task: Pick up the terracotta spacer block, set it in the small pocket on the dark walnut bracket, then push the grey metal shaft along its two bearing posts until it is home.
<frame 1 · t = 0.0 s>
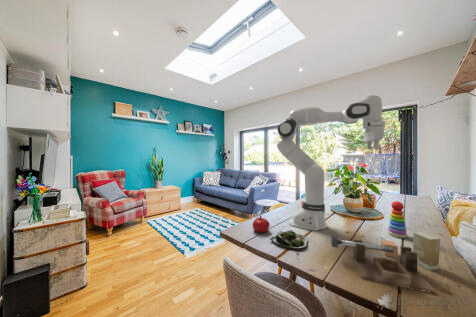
hand: (372, 149, 100), 48 cm above the table, tool pointing down, fingers open, 8 cm apart
bearing bracket: (387, 272, 66), on the table
skincare box: (425, 265, 70), on the table
pomegranate: (261, 231, 104), on the table
stacking toy: (397, 235, 96), on the table
salad plate: (289, 242, 91), on the table
shaft: (360, 245, 73), point 7 cm above the table, slide at -6.0 cm
spacer block: (389, 254, 79), on the table
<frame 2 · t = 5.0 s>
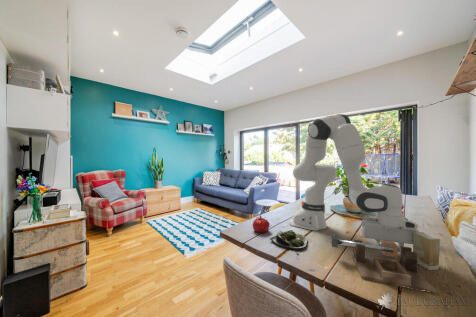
hand: (389, 250, 78), 2 cm above the table, tool pointing down, fingers closed on spacer block, 4 cm apart
spacer block: (389, 253, 79), on the table, touching gripper
everything else where it was.
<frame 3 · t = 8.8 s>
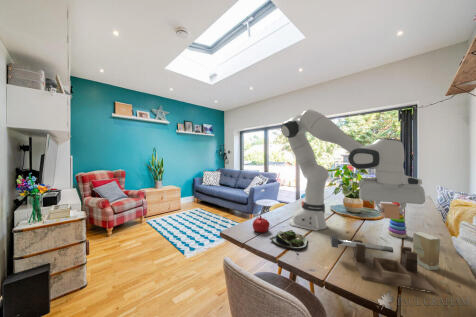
hand: (389, 212, 70), 21 cm above the table, tool pointing down, fingers closed on spacer block, 4 cm apart
spacer block: (389, 216, 70), point 20 cm above the table, touching gripper
everything else where it was.
when the fingers open (5 cm above the table, at t = 13.0 s): spacer block drops 2 cm, resting on bearing bracket.
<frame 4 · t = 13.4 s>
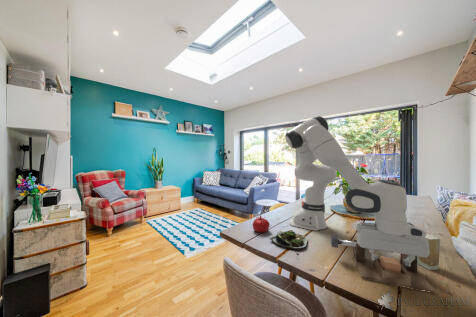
hand: (390, 262, 64), 5 cm above the table, tool pointing down, fingers open, 8 cm apart
spacer block: (389, 273, 64), point 1 cm above the table, touching bearing bracket
everything else where it was.
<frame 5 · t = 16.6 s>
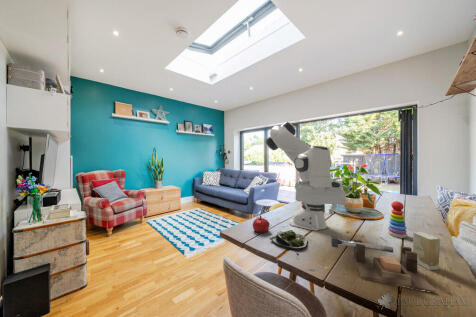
hand: (319, 212, 78), 19 cm above the table, tool pointing down, fingers open, 8 cm apart
nothing on the table moved.
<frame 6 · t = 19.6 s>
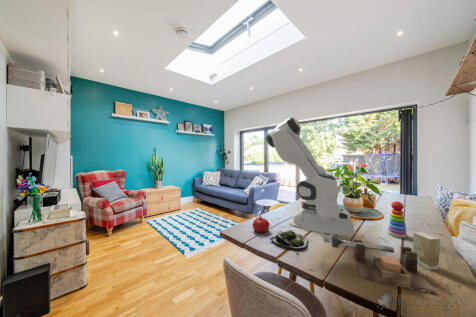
hand: (326, 242, 77), 6 cm above the table, tool pointing down, fingers closed
shaft: (360, 245, 73), point 7 cm above the table, slide at -5.8 cm, touching gripper
everything else where it was.
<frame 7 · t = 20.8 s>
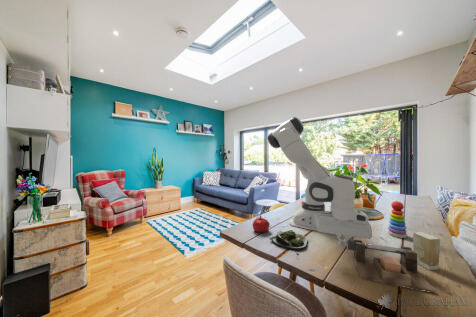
hand: (342, 244, 75), 6 cm above the table, tool pointing down, fingers closed
shaft: (377, 247, 71), point 7 cm above the table, slide at 0.1 cm, touching gripper
everything else where it was.
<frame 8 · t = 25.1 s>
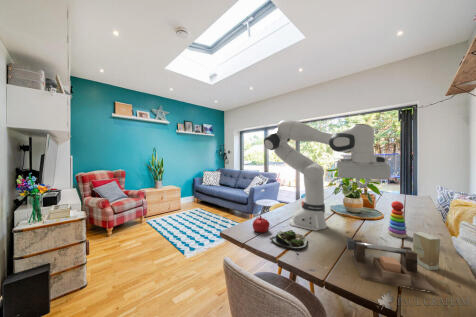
hand: (362, 188, 82), 29 cm above the table, tool pointing down, fingers closed
shaft: (377, 247, 71), point 7 cm above the table, slide at 0.0 cm
everything else where it was.
at the end: shaft slide at 0.0 cm; spacer block 0.1 cm from the target spot on the bearing bracket, point 1.0 cm above the bearing bracket's base; spacer block tilted 0° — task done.
